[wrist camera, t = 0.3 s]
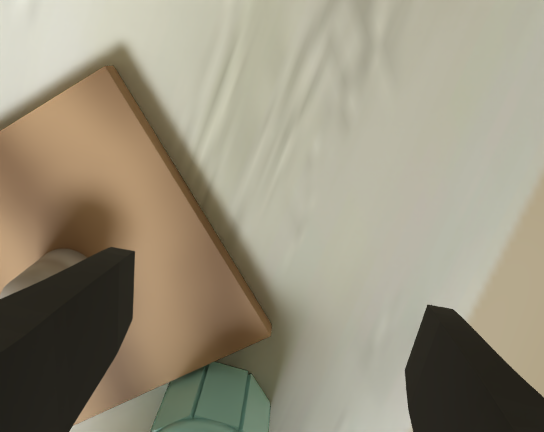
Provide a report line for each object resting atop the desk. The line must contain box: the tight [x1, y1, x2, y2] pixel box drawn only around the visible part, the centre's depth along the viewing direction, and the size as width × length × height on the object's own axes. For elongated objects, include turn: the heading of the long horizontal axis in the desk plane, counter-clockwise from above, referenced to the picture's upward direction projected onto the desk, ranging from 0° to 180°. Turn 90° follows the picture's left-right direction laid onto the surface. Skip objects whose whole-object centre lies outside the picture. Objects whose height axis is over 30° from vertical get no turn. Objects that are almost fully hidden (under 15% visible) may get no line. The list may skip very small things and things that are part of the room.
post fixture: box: [0, 66, 272, 425], centre depth 22 cm, size 14×14×4 cm
